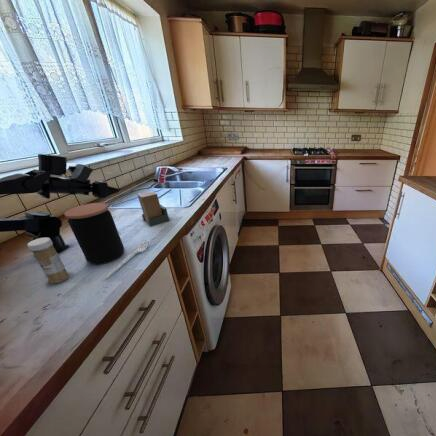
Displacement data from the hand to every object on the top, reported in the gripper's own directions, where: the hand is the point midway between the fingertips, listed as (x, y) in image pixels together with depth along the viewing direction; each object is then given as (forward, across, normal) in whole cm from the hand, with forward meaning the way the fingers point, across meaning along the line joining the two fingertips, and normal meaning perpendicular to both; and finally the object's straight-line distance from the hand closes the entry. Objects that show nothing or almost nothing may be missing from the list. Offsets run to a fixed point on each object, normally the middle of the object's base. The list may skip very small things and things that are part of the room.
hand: (112, 188), depth 96 cm
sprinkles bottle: (-25, -21, +27) cm, 42 cm away
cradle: (+11, -12, +12) cm, 21 cm away
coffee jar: (-13, -21, +22) cm, 33 cm away
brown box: (+11, -12, +12) cm, 21 cm away
